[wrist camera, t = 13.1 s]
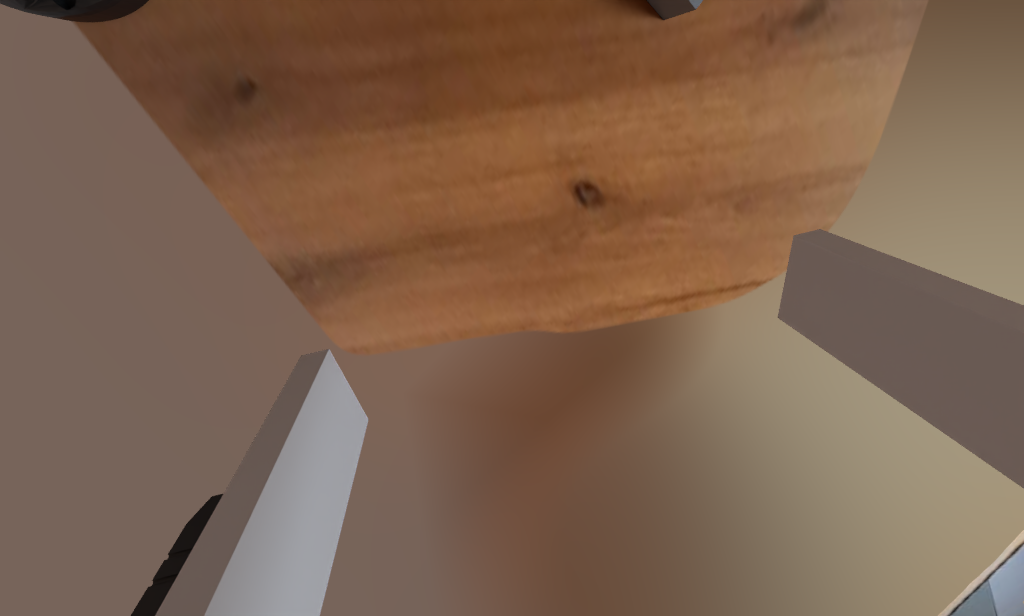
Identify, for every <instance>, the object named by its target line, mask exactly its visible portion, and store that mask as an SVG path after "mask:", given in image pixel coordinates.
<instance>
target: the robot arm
mask: <svg viewBox="0 0 1024 616" xmlns="http://www.w3.org/2000/svg"><path fill="white" fill-rule="evenodd" d="M148 1H149V0H0V3H1V4H3V5H6V6H9V7H11V8H14V9H18V10H21V11H24V12H28V13H32V14H37V15H42V16H47V17H53V18H58V19H63V20H69V21H77V22H103V21H109V20H114V19H118V18H121V17H123V16H126V15H128V14H130V13H132V12H134V11H136V10H137V9H139V8H140V7H142V6H143V5H144V4H145V3H146V2H148ZM778 318H779V319H780V320H782V321H783V322H785V323H786V324H788V325H789V326H790V327H792V328H793V329H795V330H796V331H798V332H799V333H800V334H802V335H803V336H805V337H806V338H808V339H809V340H811V341H812V342H813V343H815V344H816V345H818V346H819V347H821V348H822V349H824V350H825V351H826V352H828V353H829V354H831V355H832V356H834V357H835V358H837V359H838V360H839V361H841V362H843V363H844V364H845V365H847V366H848V367H849V368H851V369H852V370H854V371H855V372H857V373H858V374H860V375H861V376H863V377H864V378H865V379H867V380H868V381H870V382H871V383H873V384H874V385H875V386H877V387H878V388H880V389H881V390H883V391H884V392H886V393H887V394H888V395H890V396H891V397H893V398H894V399H896V400H897V401H899V402H900V403H901V404H903V405H904V406H906V407H907V408H909V409H910V410H911V411H913V412H914V413H916V414H917V415H919V416H920V417H922V418H923V419H924V420H926V421H927V422H929V423H930V424H932V425H933V426H935V427H936V428H937V429H939V430H940V431H942V432H943V433H945V434H946V435H947V436H949V437H950V438H952V439H953V440H955V441H956V442H958V443H959V444H960V445H962V446H963V447H965V448H966V449H968V450H969V451H971V452H972V453H973V454H975V455H977V456H978V457H979V458H981V459H982V460H984V461H985V462H986V463H988V464H989V465H991V466H992V467H994V468H995V469H997V470H998V471H999V472H1001V473H1002V474H1004V475H1005V476H1007V477H1008V478H1009V479H1011V480H1012V481H1014V482H1015V483H1017V484H1018V485H1020V486H1021V487H1022V488H1024V305H1021V304H1018V303H1015V302H1013V301H1010V300H1007V299H1005V298H1002V297H999V296H997V295H994V294H991V293H989V292H986V291H983V290H980V289H978V288H975V287H973V286H970V285H967V284H965V283H962V282H959V281H957V280H954V279H951V278H949V277H946V276H943V275H941V274H938V273H935V272H933V271H930V270H927V269H925V268H922V267H920V266H917V265H914V264H912V263H909V262H906V261H904V260H901V259H898V258H895V257H893V256H890V255H887V254H885V253H882V252H879V251H877V250H874V249H871V248H868V247H866V246H864V245H861V244H858V243H855V242H853V241H850V240H848V239H845V238H842V237H839V236H836V235H834V234H832V233H829V232H826V231H824V230H821V229H819V230H815V231H811V232H806V233H802V234H798V235H794V237H793V242H792V247H791V252H790V257H789V262H788V267H787V273H786V278H785V283H784V288H783V293H782V299H781V304H780V309H779V314H778ZM367 423H368V418H367V416H366V414H365V413H364V411H363V409H362V407H361V405H360V404H359V402H358V400H357V398H356V396H355V395H354V393H353V391H352V389H351V388H350V386H349V384H348V382H347V380H346V378H345V377H344V375H343V373H342V371H341V369H340V368H339V366H338V364H337V362H336V360H335V359H334V357H333V355H332V353H331V352H330V350H329V349H327V350H323V351H318V352H314V353H310V354H306V355H302V356H301V357H300V359H299V360H298V362H297V364H296V366H295V368H294V369H293V371H292V373H291V375H290V377H289V378H288V380H287V382H286V384H285V385H284V387H283V389H282V391H281V393H280V394H279V396H278V398H277V400H276V401H275V403H274V405H273V407H272V409H271V410H270V412H269V414H268V416H267V417H266V419H265V421H264V423H263V425H262V426H261V428H260V430H259V432H258V433H257V435H256V437H255V439H254V441H253V442H252V444H251V446H250V448H249V449H248V451H247V453H246V455H245V457H244V458H243V460H242V462H241V464H240V466H239V467H238V469H237V471H236V473H235V474H234V476H233V478H232V480H231V482H230V483H229V485H228V487H227V489H226V490H225V492H224V494H220V495H216V496H212V497H211V498H210V499H209V500H208V501H207V502H206V503H205V504H204V506H203V507H202V508H201V509H200V510H199V511H198V512H197V513H196V514H195V515H194V517H193V518H192V519H191V520H190V521H189V522H188V523H187V524H186V526H185V528H184V529H183V531H182V532H181V534H180V536H179V537H178V539H177V540H176V542H175V544H174V545H173V547H172V549H171V550H170V552H169V554H168V555H169V558H168V559H167V560H164V562H163V564H162V565H161V567H160V568H159V570H158V572H157V573H156V575H155V577H154V579H153V585H152V586H151V587H148V588H147V590H146V591H145V593H144V595H143V597H142V598H141V600H140V601H139V603H138V605H137V606H136V608H135V609H134V611H133V613H132V614H131V616H320V612H321V608H322V604H323V600H324V596H325V592H326V588H327V584H328V580H329V576H330V572H331V568H332V564H333V560H334V556H335V551H336V548H337V544H338V540H339V536H340V532H341V528H342V523H343V520H344V516H345V511H346V508H347V504H348V499H349V495H350V491H351V487H352V483H353V479H354V475H355V471H356V467H357V463H358V459H359V455H360V451H361V447H362V443H363V439H364V435H365V431H366V427H367Z"/></svg>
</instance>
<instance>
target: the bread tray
mask: <svg viewBox="0 0 1024 616" xmlns="http://www.w3.org/2000/svg"><path fill="white" fill-rule="evenodd" d="M647 1H648V2H649V4H650V5H651V6H652V7H653V8H654V9H655V11H656V12H657V13H658V14H659V15H660V17H661V18H662V19H663V20H666V19H669V18H672V17H675V16H678V15H681V14H684V13H687V12H690V11H693V10H696V9H697V7H698V6H699V5H700V3H701V2H702V1H703V0H647Z"/></svg>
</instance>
